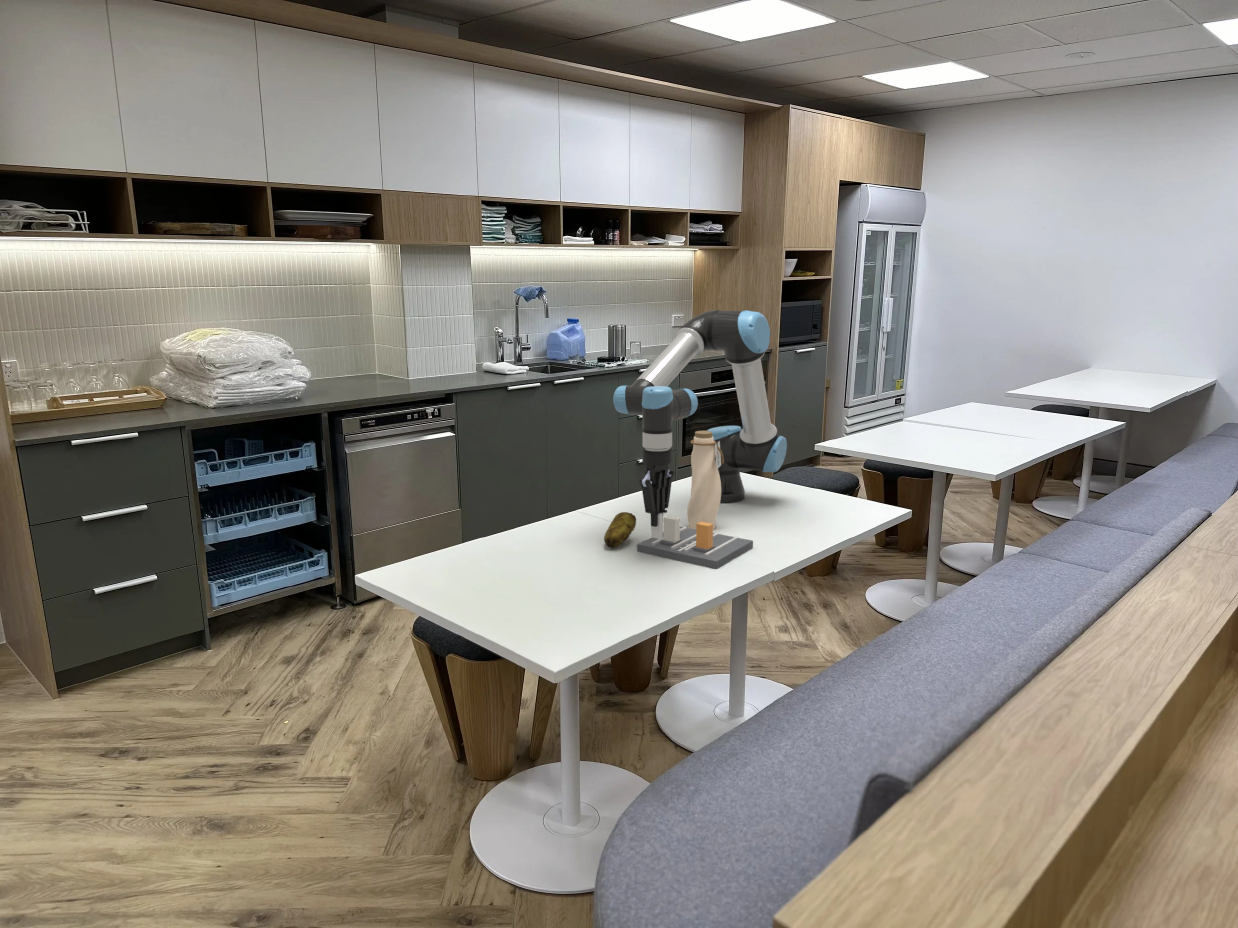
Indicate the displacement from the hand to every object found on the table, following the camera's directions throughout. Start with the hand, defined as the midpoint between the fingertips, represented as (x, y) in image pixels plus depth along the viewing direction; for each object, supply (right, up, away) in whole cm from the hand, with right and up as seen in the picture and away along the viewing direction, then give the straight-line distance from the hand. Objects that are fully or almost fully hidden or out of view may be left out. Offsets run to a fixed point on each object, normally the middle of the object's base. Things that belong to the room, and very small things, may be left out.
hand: (656, 537), depth 223 cm
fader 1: (+4, -2, +6) cm, 8 cm away
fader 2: (+12, -3, +1) cm, 13 cm away
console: (+11, -4, +7) cm, 13 cm away
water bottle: (+15, 0, +27) cm, 31 cm away
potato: (-10, -3, +13) cm, 16 cm away
